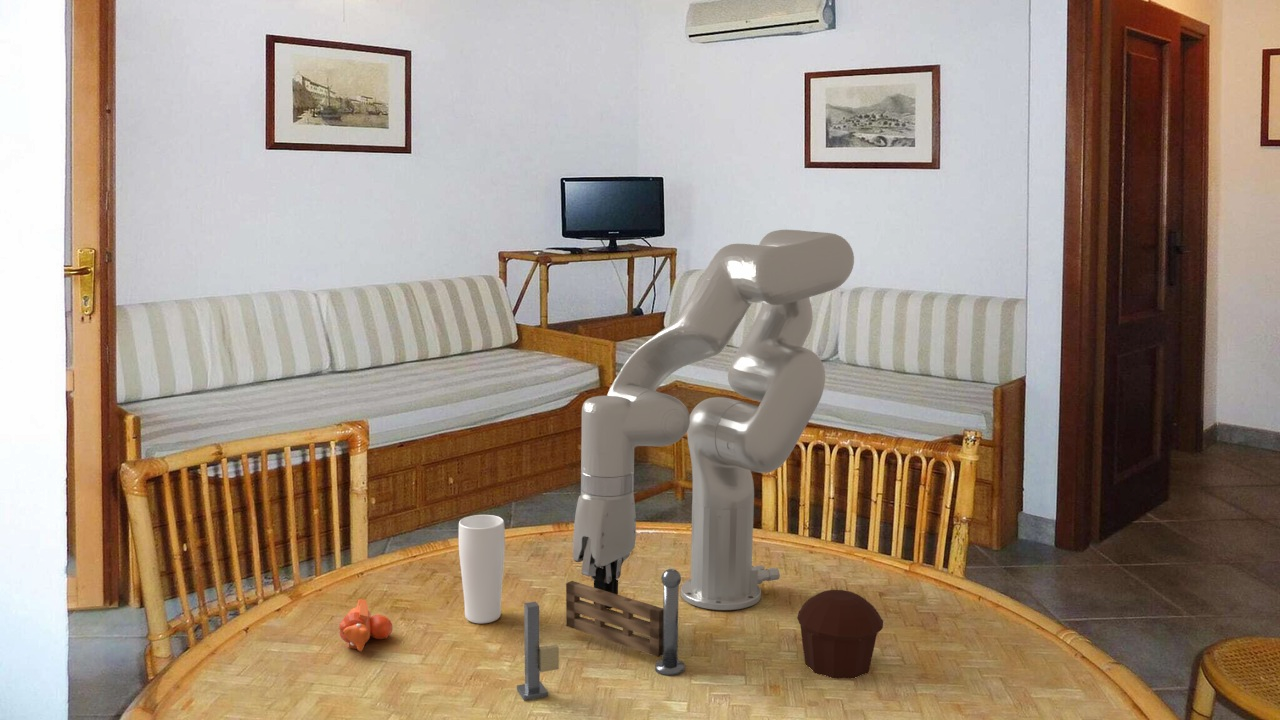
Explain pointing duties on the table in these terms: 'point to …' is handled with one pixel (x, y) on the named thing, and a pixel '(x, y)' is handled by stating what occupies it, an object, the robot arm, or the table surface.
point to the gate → (614, 618)
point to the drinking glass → (482, 566)
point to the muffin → (839, 633)
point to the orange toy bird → (363, 626)
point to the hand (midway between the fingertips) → (605, 605)
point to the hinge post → (670, 626)
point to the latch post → (536, 656)
